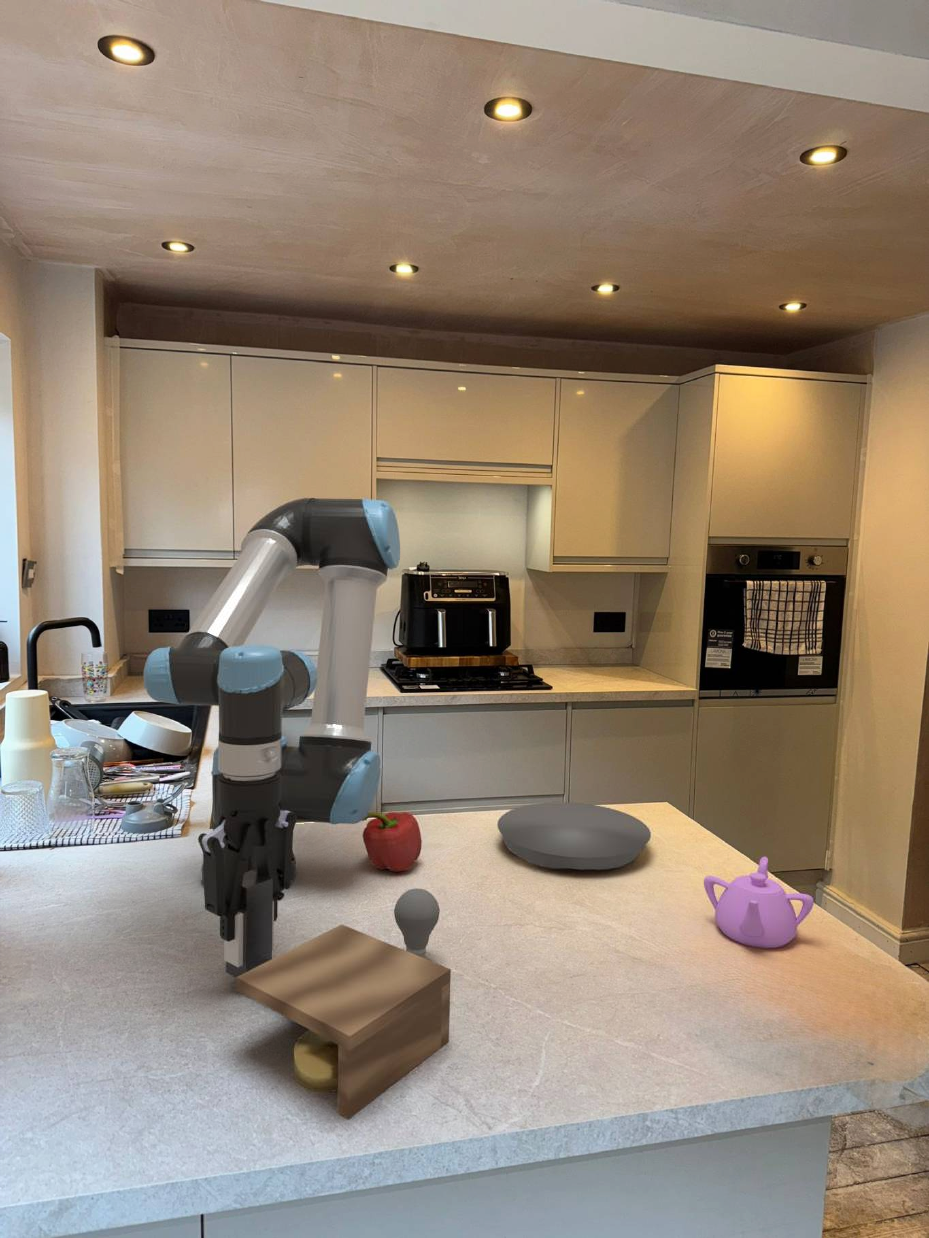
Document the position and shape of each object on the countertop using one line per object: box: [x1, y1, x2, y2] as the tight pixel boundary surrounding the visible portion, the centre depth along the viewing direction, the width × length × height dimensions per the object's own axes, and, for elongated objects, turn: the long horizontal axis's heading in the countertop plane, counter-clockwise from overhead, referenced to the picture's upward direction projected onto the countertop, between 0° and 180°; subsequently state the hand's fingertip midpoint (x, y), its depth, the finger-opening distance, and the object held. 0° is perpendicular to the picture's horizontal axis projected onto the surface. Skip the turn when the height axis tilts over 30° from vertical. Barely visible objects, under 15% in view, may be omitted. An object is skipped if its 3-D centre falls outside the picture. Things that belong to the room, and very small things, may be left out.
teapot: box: [703, 856, 815, 949], centre depth 121 cm, size 12×14×9 cm
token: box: [293, 1029, 338, 1093], centre depth 87 cm, size 7×7×3 cm
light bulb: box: [393, 888, 440, 959], centre depth 109 cm, size 6×6×10 cm
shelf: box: [235, 924, 452, 1120], centre depth 91 cm, size 17×16×8 cm
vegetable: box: [361, 811, 423, 873], centre depth 141 cm, size 11×10×10 cm
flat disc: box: [496, 801, 652, 871], centre depth 152 cm, size 28×28×4 cm
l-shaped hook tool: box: [225, 870, 273, 978], centre depth 98 cm, size 22×4×12 cm, turn 53°
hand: (249, 954), depth 103 cm, fingers closed on l-shaped hook tool, 4 cm apart
